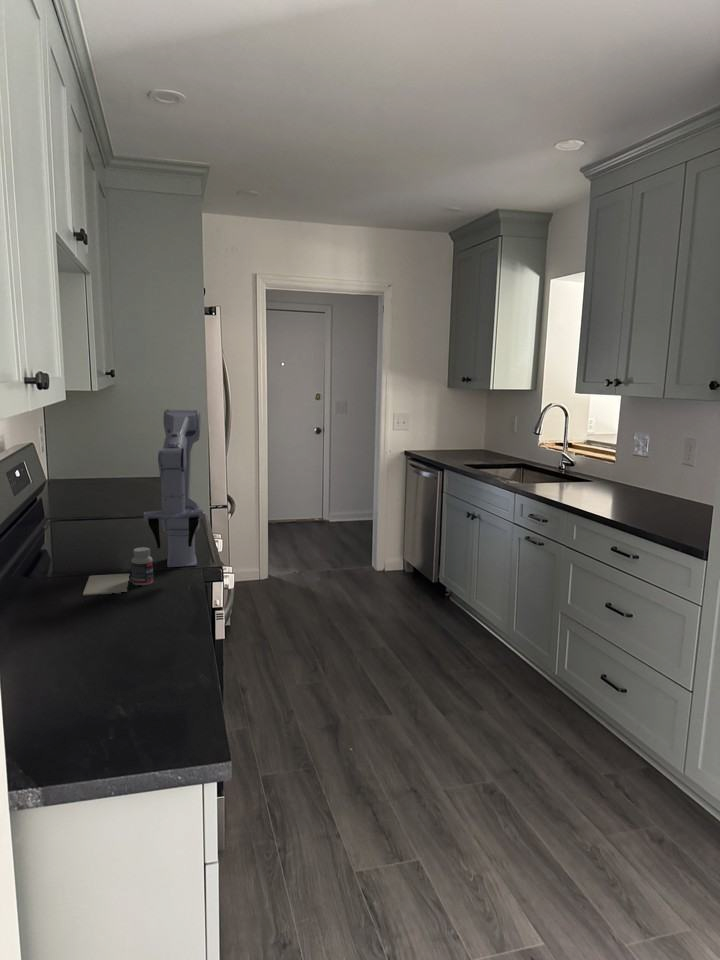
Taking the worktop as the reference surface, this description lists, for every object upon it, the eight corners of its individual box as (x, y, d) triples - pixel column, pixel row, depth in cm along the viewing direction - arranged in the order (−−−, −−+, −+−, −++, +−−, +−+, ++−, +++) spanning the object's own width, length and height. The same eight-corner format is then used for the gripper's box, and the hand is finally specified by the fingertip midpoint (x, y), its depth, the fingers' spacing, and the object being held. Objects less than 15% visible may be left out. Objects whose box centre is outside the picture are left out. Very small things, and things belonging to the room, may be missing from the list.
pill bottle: (149, 586, 165) (148, 552, 163) (128, 585, 165) (127, 552, 163) (156, 579, 170) (155, 546, 168) (136, 578, 170) (135, 546, 169)
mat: (89, 577, 170) (89, 575, 170) (130, 574, 173) (129, 573, 173) (82, 595, 157) (82, 594, 157) (126, 592, 160) (126, 591, 160)
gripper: (142, 499, 159) (144, 552, 162) (203, 497, 163) (204, 549, 166) (143, 493, 166) (145, 544, 168) (201, 491, 170) (202, 541, 173)
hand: (174, 546), depth 168 cm, fingers open, 7 cm apart
